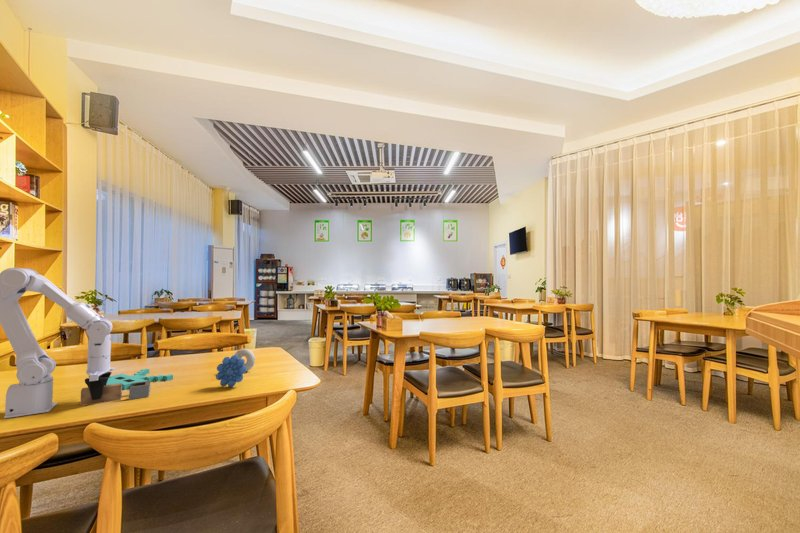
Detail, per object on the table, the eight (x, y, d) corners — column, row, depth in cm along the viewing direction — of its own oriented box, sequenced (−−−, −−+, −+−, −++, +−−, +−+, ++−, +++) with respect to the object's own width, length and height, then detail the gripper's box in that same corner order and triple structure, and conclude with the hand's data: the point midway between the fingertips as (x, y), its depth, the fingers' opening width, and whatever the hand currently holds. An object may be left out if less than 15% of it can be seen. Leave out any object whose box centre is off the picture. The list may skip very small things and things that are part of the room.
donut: (256, 370, 149) (257, 348, 150) (251, 373, 146) (252, 349, 146) (236, 369, 151) (236, 347, 151) (231, 371, 148) (231, 348, 148)
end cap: (129, 399, 114) (129, 387, 114) (131, 394, 119) (132, 382, 119) (148, 396, 116) (148, 385, 117) (150, 391, 122) (150, 380, 122)
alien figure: (146, 373, 146) (86, 387, 128) (146, 368, 146) (86, 381, 128) (173, 380, 136) (112, 395, 119) (173, 374, 136) (112, 389, 119)
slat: (80, 405, 109) (80, 390, 109) (82, 403, 111) (82, 388, 111) (120, 400, 114) (120, 385, 114) (121, 397, 116) (122, 383, 116)
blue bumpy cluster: (251, 383, 132) (252, 352, 132) (242, 389, 125) (243, 356, 125) (222, 382, 132) (223, 352, 133) (212, 388, 125) (212, 356, 126)
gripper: (110, 359, 108) (109, 402, 108) (118, 350, 120) (117, 389, 120) (81, 361, 104) (79, 406, 104) (92, 352, 117) (90, 392, 116)
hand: (97, 397), depth 112 cm, fingers open, 3 cm apart
